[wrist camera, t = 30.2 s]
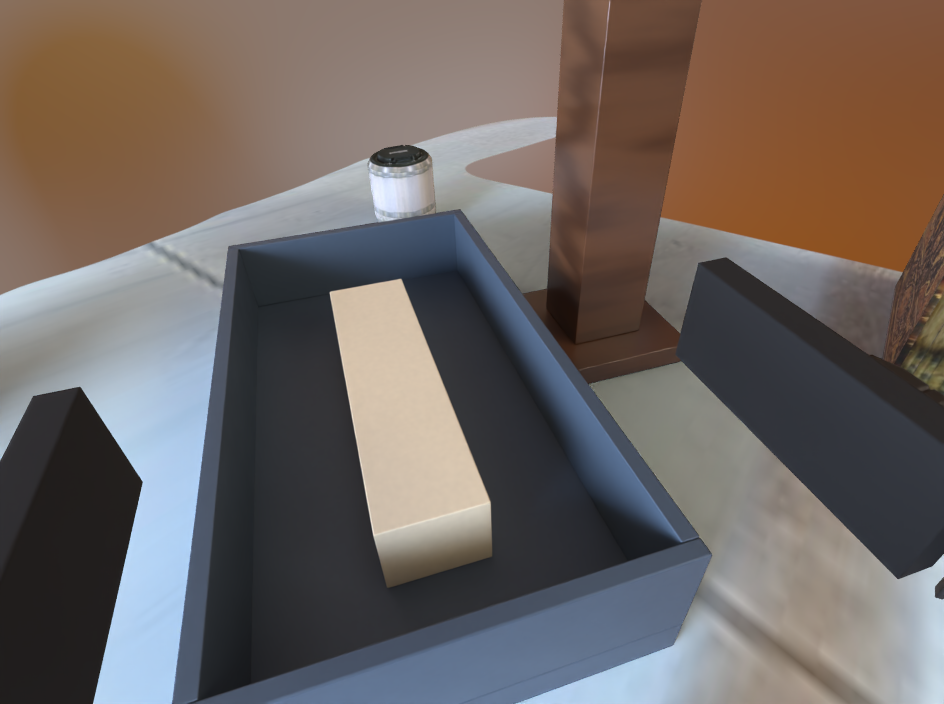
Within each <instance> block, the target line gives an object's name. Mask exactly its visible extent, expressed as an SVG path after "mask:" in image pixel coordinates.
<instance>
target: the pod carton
mask: <svg viewBox="0 0 944 704" xmlns="http://www.w3.org/2000/svg"><path fill="white" fill-rule="evenodd" d="M330 297H331V303H332V308H333V314H334V320H335V325H336V331H337V336H338V342H339V347H340V353H341V359H342V364H343V370H344V375H345V381H346V386H347V392H348V397H349V403H350V409H351V414H352V420H353V425H354V431H355V436H356V442H357V448H358V453H359V459H360V464H361V470H362V475H363V481H364V487H365V492H366V498H367V503H368V509H369V514H370V520H371V525H372V531H373V536H374V540H375V544H376V548H377V551H378V555H379V559H380V563H381V567H382V570H383V574H384V578H385V582H386V586H387V588H390V587H393V586H397V585H400V584H403V583H406V582H410V581H413V580H416V579H420V578H423V577H426V576H429V575H433V574H436V573H439V572H443V571H446V570H449V569H453V568H456V567H459V566H462V565H466V564H469V563H472V562H476V561H479V560H482V559H485V558H489V557H492V527H491V501H490V499H489V496H488V494H487V491H486V489H485V486H484V484H483V481H482V479H481V476H480V474H479V471H478V469H477V466H476V464H475V461H474V459H473V456H472V454H471V451H470V449H469V446H468V444H467V441H466V439H465V436H464V434H463V431H462V429H461V426H460V424H459V421H458V419H457V416H456V414H455V411H454V409H453V406H452V404H451V401H450V399H449V396H448V394H447V391H446V389H445V386H444V384H443V381H442V379H441V376H440V374H439V371H438V369H437V366H436V364H435V361H434V359H433V356H432V354H431V352H430V349H429V347H428V344H427V342H426V339H425V337H424V334H423V332H422V329H421V327H420V324H419V322H418V319H417V317H416V314H415V312H414V309H413V307H412V304H411V302H410V299H409V297H408V294H407V292H406V289H405V287H404V284H403V282H402V279H397V280H392V281H386V282H381V283H375V284H370V285H364V286H359V287H353V288H348V289H342V290H337V291H331V292H330Z"/></svg>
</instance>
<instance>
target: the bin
mask: <svg viewBox="0 0 944 704" xmlns="http://www.w3.org/2000/svg"><path fill="white" fill-rule="evenodd" d="M397 279H402V282H403V284H404V287H405V289H406V292H407V294H408V297H409V299H410V302H411V304H412V307H413V309H414V312H415V314H416V317H417V319H418V322H419V324H420V327H421V329H422V332H423V334H424V337H425V339H426V342H427V344H428V347H429V349H430V352H431V354H432V356H433V359H434V361H435V364H436V366H437V369H438V371H439V374H440V376H441V379H442V381H443V384H444V386H445V389H446V391H447V394H448V396H449V399H450V401H451V404H452V406H453V409H454V411H455V414H456V416H457V419H458V421H459V424H460V426H461V429H462V431H463V434H464V436H465V439H466V441H467V444H468V446H469V449H470V451H471V454H472V456H473V459H474V461H475V464H476V466H477V469H478V471H479V474H480V476H481V479H482V481H483V484H484V486H485V489H486V491H487V494H488V496H489V499H490V501H491V527H492V557H489V558H485V559H482V560H479V561H476V562H472V563H469V564H466V565H462V566H459V567H456V568H453V569H449V570H446V571H443V572H439V573H436V574H433V575H429V576H426V577H423V578H420V579H416V580H413V581H410V582H406V583H403V584H400V585H397V586H393V587H390V588H387V586H386V582H385V578H384V574H383V570H382V567H381V563H380V559H379V555H378V551H377V548H376V544H375V540H374V536H373V531H372V525H371V520H370V514H369V509H368V503H367V498H366V492H365V487H364V481H363V475H362V470H361V464H360V459H359V453H358V448H357V442H356V436H355V431H354V425H353V420H352V414H351V409H350V403H349V397H348V392H347V386H346V381H345V375H344V370H343V364H342V359H341V353H340V347H339V342H338V336H337V331H336V325H335V320H334V314H333V308H332V303H331V297H330V292H331V291H337V290H342V289H348V288H353V287H359V286H364V285H370V284H375V283H381V282H386V281H392V280H397ZM711 557H712V554H711V552H710V551H709V549H708V548H707V546H706V545H705V544H704V542H703V541H702V540H701V539H700V538H699V535H698V534H697V532H696V531H695V529H694V528H693V527H692V525H691V524H690V523H689V521H688V520H687V519H686V517H685V516H684V514H683V513H682V512H681V510H680V509H679V508H678V506H677V505H676V503H675V502H674V501H673V499H672V498H671V497H670V495H669V494H668V493H667V491H666V490H665V488H664V487H663V486H662V484H661V483H660V482H659V480H658V479H657V477H656V476H655V475H654V473H653V472H652V471H651V469H650V468H649V467H648V465H647V464H646V462H645V461H644V460H643V458H642V457H641V456H640V454H639V453H638V452H637V450H636V449H635V447H634V446H633V445H632V443H631V442H630V441H629V439H628V438H627V436H626V435H625V434H624V432H623V431H622V430H621V428H620V427H619V426H618V424H617V423H616V421H615V420H614V419H613V417H612V416H611V415H610V413H609V412H608V410H607V409H606V408H605V406H604V405H603V404H602V402H601V401H600V400H599V398H598V397H597V395H596V394H595V393H594V391H593V390H592V389H591V387H590V386H589V385H588V383H587V382H586V380H585V379H584V378H583V376H582V375H581V374H580V372H579V371H578V369H577V368H576V367H575V365H574V364H573V363H572V361H571V360H570V359H569V357H568V356H567V354H566V353H565V352H564V350H563V349H562V348H561V346H560V345H559V343H558V342H557V341H556V339H555V338H554V337H553V335H552V334H551V333H550V331H549V330H548V328H547V327H546V326H545V324H544V323H543V322H542V320H541V319H540V317H539V316H538V315H537V313H536V312H535V311H534V309H533V308H532V307H531V305H530V304H529V302H528V301H527V300H526V298H525V297H524V296H523V294H522V293H521V292H520V290H519V289H518V287H517V286H516V285H515V283H514V282H513V281H512V279H511V278H510V276H509V275H508V274H507V272H506V271H505V270H504V268H503V267H502V266H501V264H500V263H499V261H498V260H497V259H496V257H495V256H494V255H493V253H492V252H491V250H490V249H489V248H488V246H487V245H486V244H485V242H484V241H483V240H482V238H481V237H480V235H479V234H478V233H477V231H476V230H475V229H474V227H473V226H472V225H471V223H470V222H469V220H468V219H467V218H466V216H465V215H464V214H463V212H462V211H461V210H460V209H459V210H453V211H446V212H440V213H434V214H428V215H421V216H415V217H409V218H402V219H396V220H390V221H384V222H377V223H371V224H365V225H359V226H352V227H346V228H340V229H334V230H327V231H321V232H315V233H308V234H302V235H296V236H290V237H283V238H277V239H271V240H265V241H258V242H252V243H246V244H240V245H233V246H229V247H228V253H227V261H226V270H225V278H224V286H223V294H222V302H221V310H220V318H219V327H218V335H217V343H216V351H215V359H214V367H213V375H212V383H211V392H210V400H209V408H208V416H207V424H206V432H205V440H204V449H203V457H202V465H201V473H200V481H199V489H198V497H197V505H196V514H195V522H194V530H193V538H192V546H191V554H190V562H189V570H188V579H187V587H186V595H185V603H184V611H183V619H182V627H181V636H180V644H179V652H178V660H177V668H176V676H175V684H174V692H173V701H172V704H515V703H518V702H521V701H524V700H526V699H529V698H532V697H534V696H537V695H540V694H543V693H545V692H548V691H551V690H553V689H556V688H559V687H561V686H564V685H567V684H570V683H572V682H575V681H578V680H580V679H583V678H586V677H589V676H591V675H594V674H597V673H599V672H602V671H605V670H608V669H610V668H613V667H616V666H618V665H621V664H624V663H626V662H629V661H632V660H635V659H637V658H640V657H643V656H645V655H648V654H651V653H654V652H656V651H659V650H662V649H664V648H667V647H670V646H672V645H673V644H674V642H675V640H676V637H677V635H678V633H679V631H680V628H681V626H682V623H683V621H684V619H685V617H686V614H687V612H688V610H689V608H690V605H691V603H692V601H693V598H694V596H695V594H696V591H697V589H698V587H699V585H700V582H701V580H702V578H703V575H704V573H705V571H706V568H707V566H708V564H709V562H710V559H711Z"/></svg>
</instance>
